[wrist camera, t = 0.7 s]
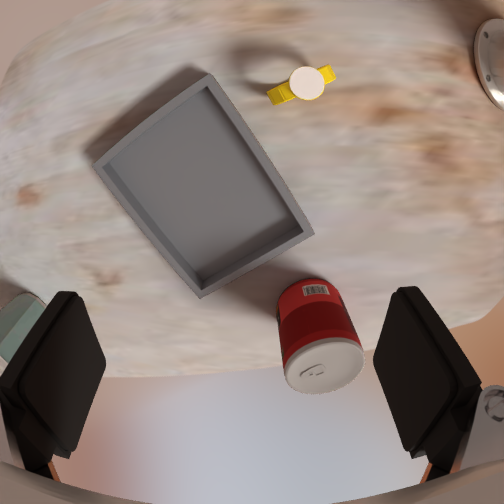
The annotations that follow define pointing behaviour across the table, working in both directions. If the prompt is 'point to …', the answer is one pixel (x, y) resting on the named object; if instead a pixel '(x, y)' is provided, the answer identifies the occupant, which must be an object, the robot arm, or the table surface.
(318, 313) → the canned food
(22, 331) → the disposable coffee cup
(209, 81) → the tray
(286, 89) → the watch
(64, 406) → the robot arm
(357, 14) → the table surface
